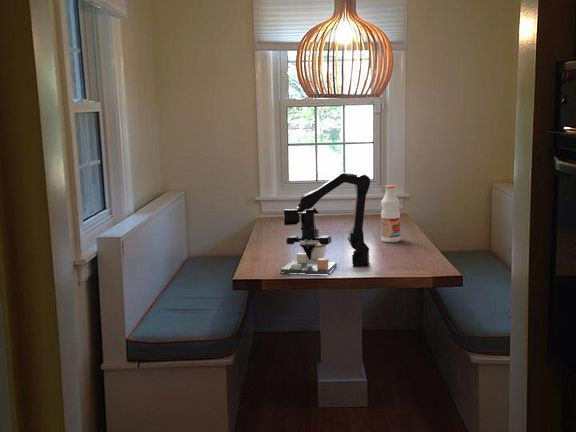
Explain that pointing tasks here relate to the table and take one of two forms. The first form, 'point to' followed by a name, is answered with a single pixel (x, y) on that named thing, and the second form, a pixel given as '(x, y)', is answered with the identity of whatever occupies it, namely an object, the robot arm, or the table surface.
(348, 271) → the table surface
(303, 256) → the slider
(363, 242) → the robot arm
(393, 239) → the fruit juice
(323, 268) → the slider
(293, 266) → the button
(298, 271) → the panel
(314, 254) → the lidded jar
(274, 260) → the table surface
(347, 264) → the table surface
